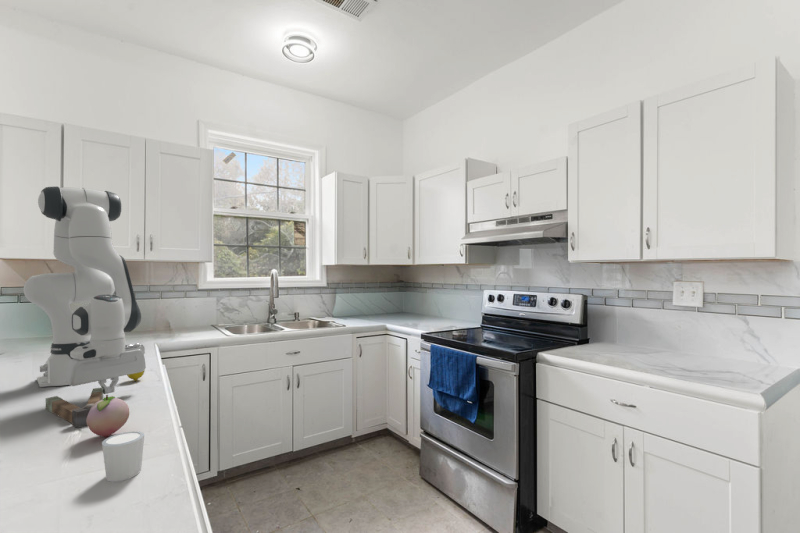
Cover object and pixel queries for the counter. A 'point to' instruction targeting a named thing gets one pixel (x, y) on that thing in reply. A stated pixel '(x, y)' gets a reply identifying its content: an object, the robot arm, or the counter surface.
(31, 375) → the counter surface
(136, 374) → the lemon
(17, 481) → the counter surface
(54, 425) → the counter surface
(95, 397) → the tongs arm
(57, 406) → the tongs base
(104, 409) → the decorative fruit
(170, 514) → the counter surface
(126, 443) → the shot glass
